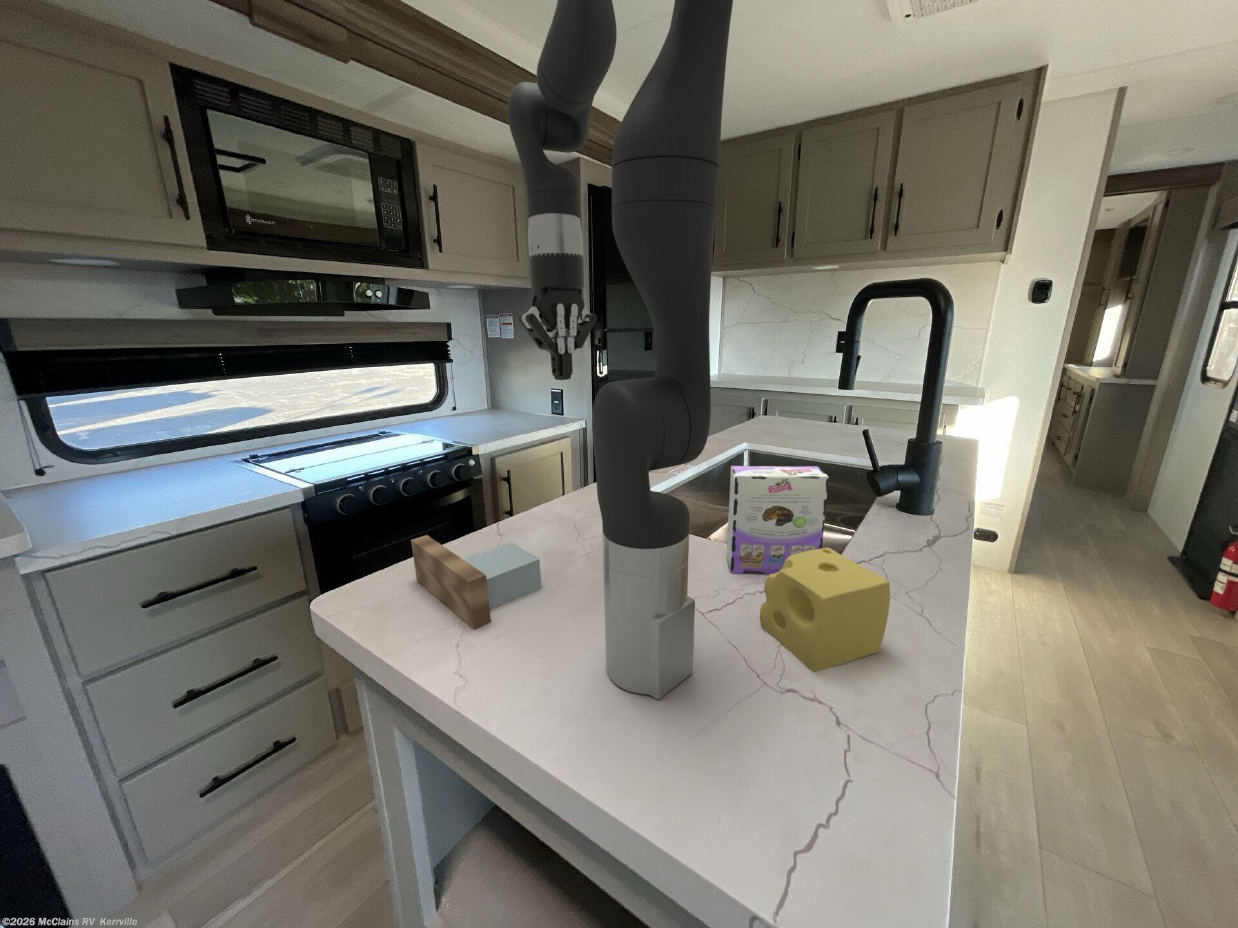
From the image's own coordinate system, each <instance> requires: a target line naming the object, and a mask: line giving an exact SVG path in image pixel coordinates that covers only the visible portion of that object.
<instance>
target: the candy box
mask: <svg viewBox="0 0 1238 928" xmlns="http://www.w3.org/2000/svg"><path fill="white" fill-rule="evenodd" d="M829 480H830V476H828V474H826V473H825V472H824V471H823V470H822V469H821V468H820V467H819V466H816V465H815V466H811V465H810V466H808V465H807V466H796V465H795V466H792V465H791V466H785V465H784V466H776V465H773V466H772V465H771V466H769V465H767V466H766V465H763V466H762V465H760V466H759V465H757V466H755V465H753V466H752V465H731V466H730V480H729V481H730V482H729V484H730V485H729V501H728V502H729V503H728V504H729V505H728V521H727V537H726V538H727V539H726V540H727V543H726V561H727V565H728V570H729V573H731V574H742V575H743V574H748V575H749V574H751V575H770V574H775V573H777V572H779V571H780V570H781V569H782V567H783V566H784V563H785V560H786V559H787V558H788V557H789V556H791V555H794V554H798V553H802V552H805V551H810V550H816V549H822V548H823V541H824V540H823V539H824V529H825V520H826V508H827V497H828V490H829V489H828V487H829Z"/></svg>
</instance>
